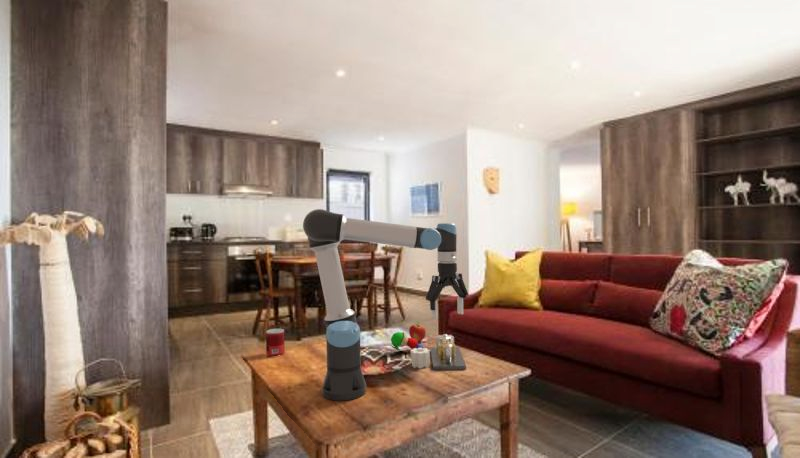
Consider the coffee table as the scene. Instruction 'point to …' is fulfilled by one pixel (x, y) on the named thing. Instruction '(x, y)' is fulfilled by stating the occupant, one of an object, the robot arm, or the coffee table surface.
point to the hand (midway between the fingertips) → (447, 316)
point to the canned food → (275, 342)
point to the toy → (403, 341)
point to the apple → (417, 332)
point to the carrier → (447, 354)
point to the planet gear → (420, 357)
